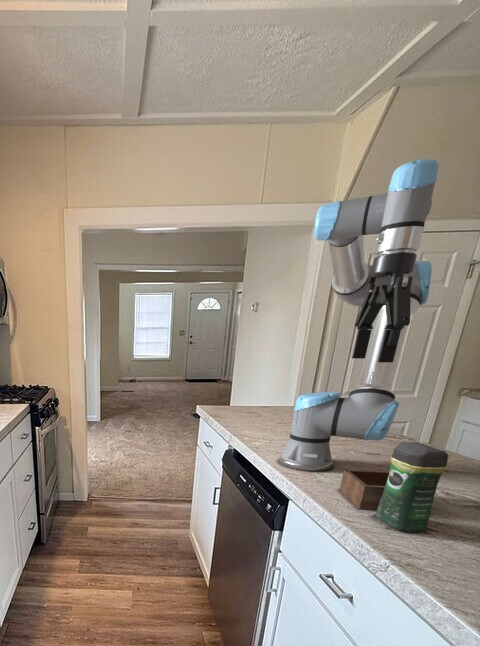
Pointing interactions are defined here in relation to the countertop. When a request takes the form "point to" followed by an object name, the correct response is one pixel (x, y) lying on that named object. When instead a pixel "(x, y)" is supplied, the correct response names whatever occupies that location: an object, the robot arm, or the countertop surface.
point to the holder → (364, 487)
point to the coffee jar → (411, 486)
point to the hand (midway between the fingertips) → (370, 360)
